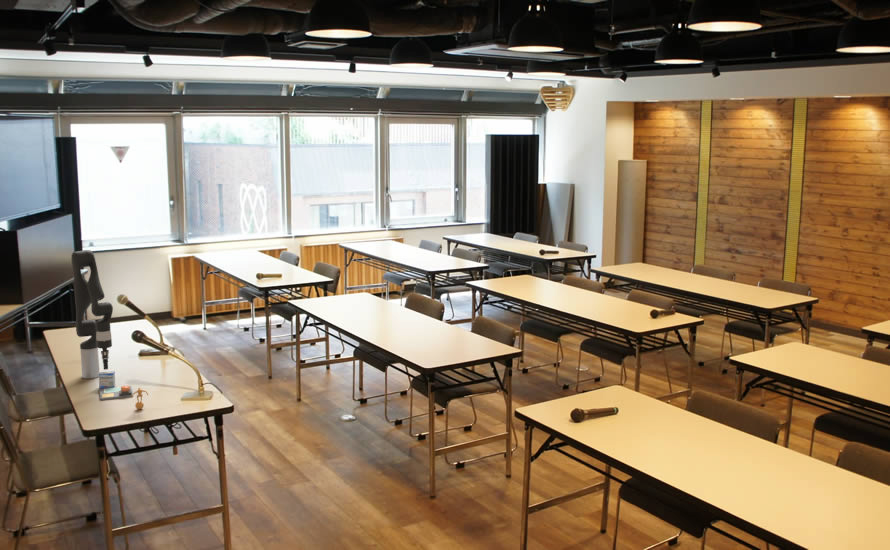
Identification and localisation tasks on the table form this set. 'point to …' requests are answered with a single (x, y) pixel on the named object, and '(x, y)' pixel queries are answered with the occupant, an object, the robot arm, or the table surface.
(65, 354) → the table surface
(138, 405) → the figurine
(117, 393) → the activity board
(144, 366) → the table surface
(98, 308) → the robot arm
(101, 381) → the medicine box
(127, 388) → the button
